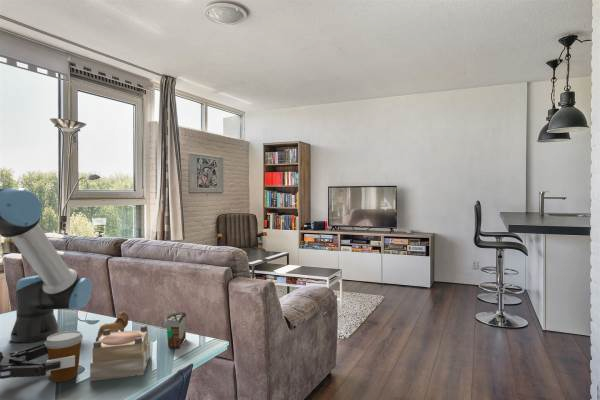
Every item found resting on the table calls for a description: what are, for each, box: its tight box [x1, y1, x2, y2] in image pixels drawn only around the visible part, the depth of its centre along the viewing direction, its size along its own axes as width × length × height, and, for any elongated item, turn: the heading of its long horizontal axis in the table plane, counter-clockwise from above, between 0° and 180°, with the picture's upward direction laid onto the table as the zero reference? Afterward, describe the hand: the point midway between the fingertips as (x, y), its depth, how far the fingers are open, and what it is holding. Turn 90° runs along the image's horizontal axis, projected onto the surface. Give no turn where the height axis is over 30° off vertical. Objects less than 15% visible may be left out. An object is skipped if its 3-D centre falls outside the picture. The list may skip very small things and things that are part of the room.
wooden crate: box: [89, 325, 151, 382], centre depth 114 cm, size 14×14×10 cm
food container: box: [164, 310, 187, 350], centre depth 133 cm, size 12×6×10 cm, turn 5°
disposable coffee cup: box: [44, 330, 84, 383], centre depth 108 cm, size 10×10×12 cm
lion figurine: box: [95, 311, 130, 342], centre depth 138 cm, size 15×5×9 cm, turn 163°
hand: (75, 352), depth 109 cm, fingers open, 13 cm apart
